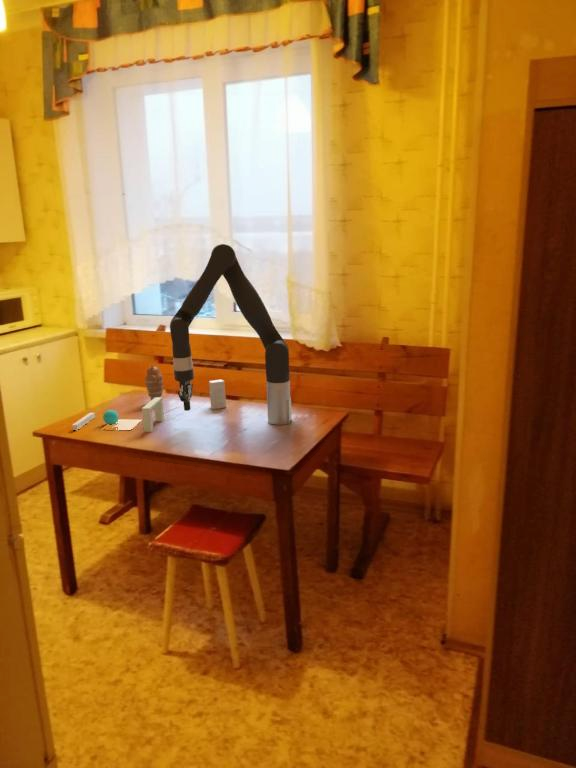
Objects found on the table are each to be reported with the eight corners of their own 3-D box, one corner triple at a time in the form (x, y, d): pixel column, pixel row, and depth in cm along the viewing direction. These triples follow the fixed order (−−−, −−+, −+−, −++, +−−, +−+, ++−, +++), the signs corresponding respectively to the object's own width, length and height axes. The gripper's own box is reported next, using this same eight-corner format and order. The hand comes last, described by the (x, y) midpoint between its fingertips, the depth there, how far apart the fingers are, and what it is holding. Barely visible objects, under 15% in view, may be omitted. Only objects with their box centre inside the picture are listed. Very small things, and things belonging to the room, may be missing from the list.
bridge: (164, 419, 249) (162, 397, 246) (151, 432, 234) (149, 408, 232) (157, 419, 249) (155, 397, 247) (144, 431, 235) (141, 408, 232)
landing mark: (142, 420, 249) (142, 419, 249) (130, 430, 237) (130, 430, 236) (112, 419, 251) (112, 419, 251) (99, 430, 238) (99, 429, 238)
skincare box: (223, 404, 267) (222, 379, 264) (226, 407, 263) (224, 381, 260) (210, 406, 265) (208, 380, 261) (213, 409, 261) (211, 382, 258)
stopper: (95, 418, 253) (94, 412, 253) (77, 430, 238) (76, 425, 237) (90, 418, 254) (90, 412, 253) (72, 430, 238) (72, 424, 238)
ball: (112, 423, 248) (123, 417, 247) (105, 429, 243) (117, 423, 241) (104, 411, 247) (115, 405, 246) (97, 416, 242) (109, 410, 240)
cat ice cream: (161, 406, 267) (158, 367, 262) (144, 406, 268) (140, 367, 263) (167, 400, 276) (164, 362, 271) (151, 400, 276) (147, 362, 272)
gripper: (187, 371, 226) (191, 415, 231) (197, 363, 239) (201, 405, 244) (168, 372, 227) (173, 415, 232) (179, 364, 240) (183, 405, 245)
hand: (187, 410), depth 238 cm, fingers closed
